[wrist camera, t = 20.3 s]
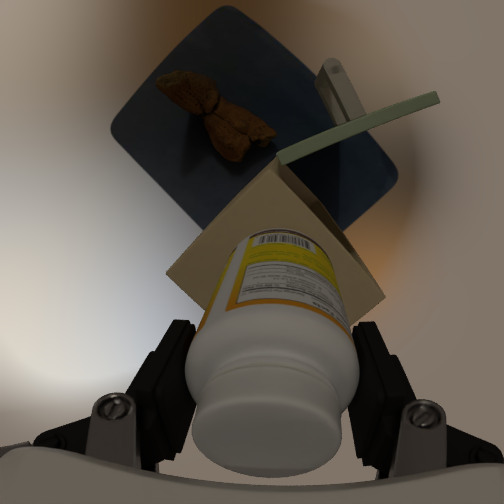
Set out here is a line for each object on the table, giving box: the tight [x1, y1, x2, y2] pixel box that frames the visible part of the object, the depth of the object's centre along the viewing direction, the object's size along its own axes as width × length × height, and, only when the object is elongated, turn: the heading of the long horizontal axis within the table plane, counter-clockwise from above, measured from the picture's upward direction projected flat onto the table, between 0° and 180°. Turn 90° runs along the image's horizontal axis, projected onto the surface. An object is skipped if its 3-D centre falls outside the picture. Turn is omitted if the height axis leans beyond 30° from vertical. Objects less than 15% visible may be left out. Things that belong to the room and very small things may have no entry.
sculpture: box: [156, 70, 277, 162], centre depth 39 cm, size 8×10×15 cm
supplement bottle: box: [185, 228, 360, 478], centre depth 12 cm, size 6×6×10 cm
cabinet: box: [166, 157, 385, 326], centre depth 32 cm, size 8×9×31 cm
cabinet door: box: [276, 58, 440, 166], centre depth 28 cm, size 6×9×31 cm
